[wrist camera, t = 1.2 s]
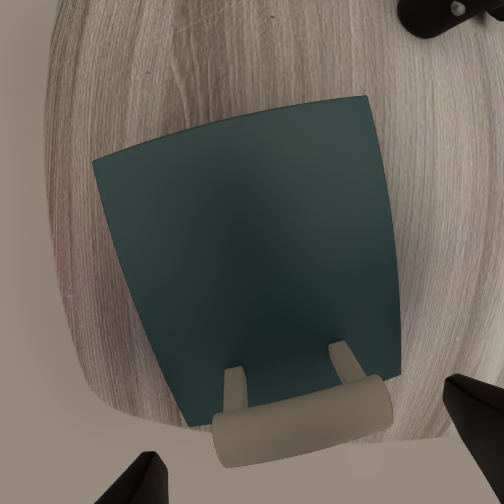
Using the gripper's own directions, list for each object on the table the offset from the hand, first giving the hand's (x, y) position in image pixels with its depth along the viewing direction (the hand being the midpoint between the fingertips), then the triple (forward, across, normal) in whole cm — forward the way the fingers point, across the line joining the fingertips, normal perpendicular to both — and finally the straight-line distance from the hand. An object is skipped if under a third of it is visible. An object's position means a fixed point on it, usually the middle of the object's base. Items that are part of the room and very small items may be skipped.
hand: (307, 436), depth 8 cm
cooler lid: (+5, 0, -3) cm, 6 cm away
